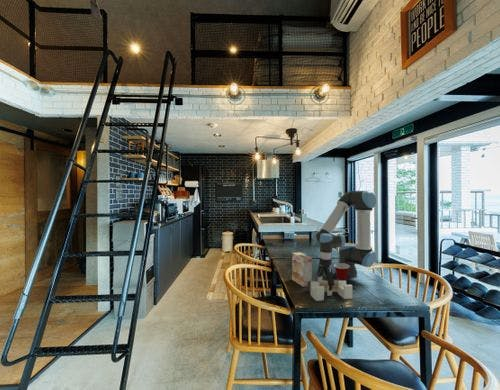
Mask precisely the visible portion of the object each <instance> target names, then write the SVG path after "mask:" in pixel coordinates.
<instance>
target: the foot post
mask: <svg viewBox="0 0 500 390" xmlns="http://www.w3.org/2000/svg"><path fill="white" fill-rule="evenodd" d="M337 294H338V295H339V296H340V297H341V298H342V299H344V300H350V299H351V300H352V299H353V285H352V284H347V280H346V281H338V292H337Z"/></svg>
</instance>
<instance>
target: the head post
mask: <svg viewBox="0 0 500 390" xmlns="http://www.w3.org/2000/svg"><path fill="white" fill-rule="evenodd" d="M310 296H311V297H312V298H313V299H314V301H316V302H321V301H325V292H324V286H319V282H311V293H310Z"/></svg>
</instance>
